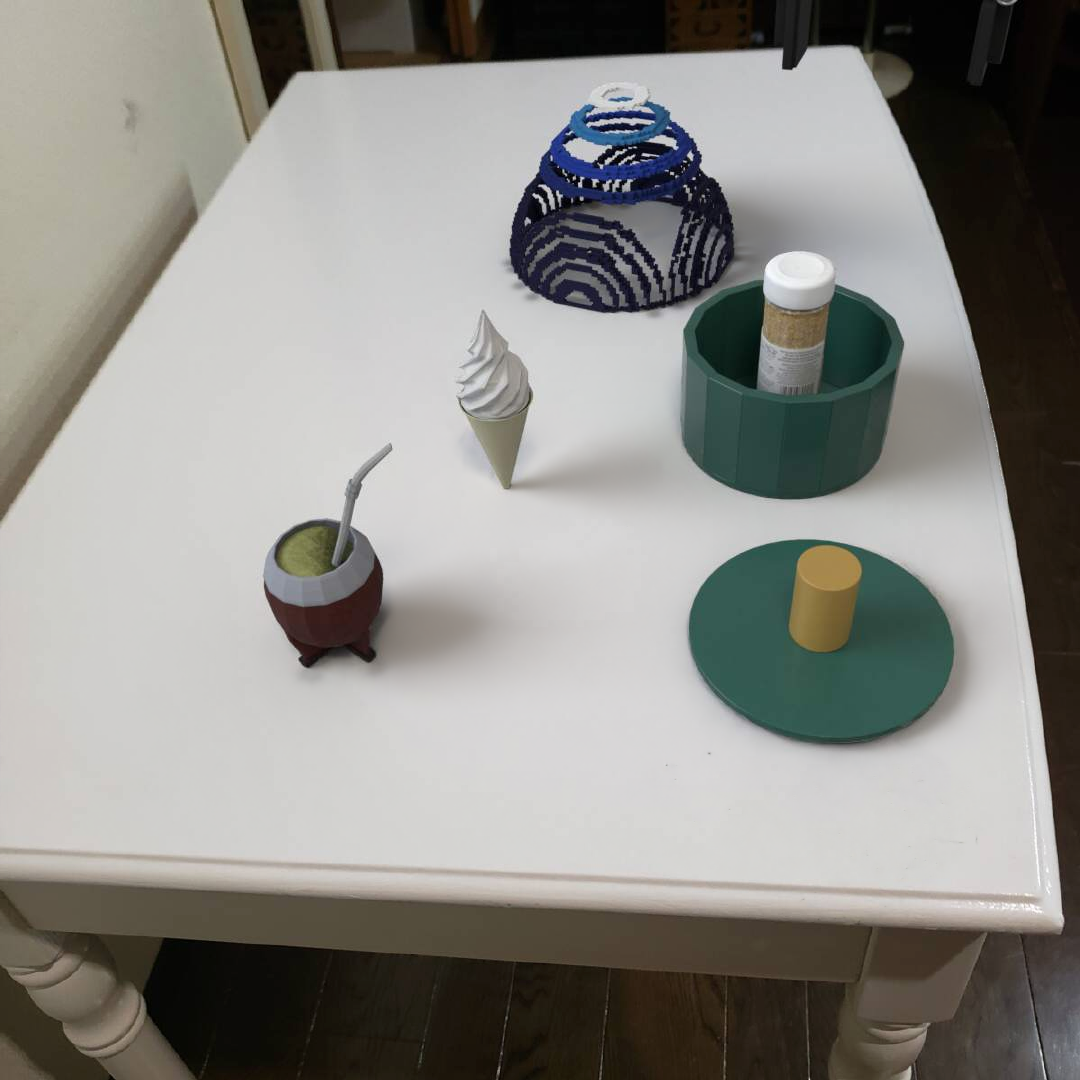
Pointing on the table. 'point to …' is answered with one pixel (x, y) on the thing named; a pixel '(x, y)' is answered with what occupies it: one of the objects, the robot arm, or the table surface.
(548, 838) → the table surface
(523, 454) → the table surface
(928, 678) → the lid
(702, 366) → the tin
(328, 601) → the mate gourd
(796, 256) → the sprinkles bottle
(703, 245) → the decorative bowl
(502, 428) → the ice cream cone
